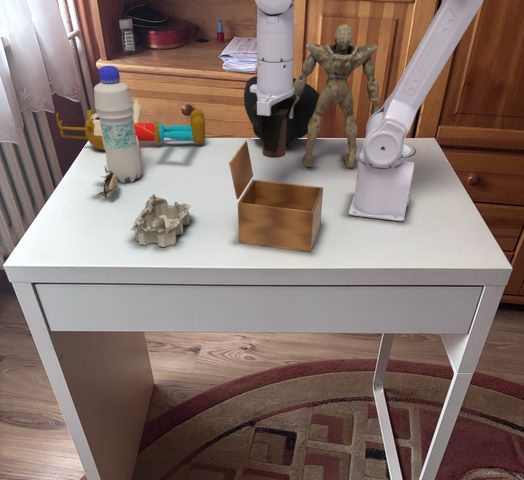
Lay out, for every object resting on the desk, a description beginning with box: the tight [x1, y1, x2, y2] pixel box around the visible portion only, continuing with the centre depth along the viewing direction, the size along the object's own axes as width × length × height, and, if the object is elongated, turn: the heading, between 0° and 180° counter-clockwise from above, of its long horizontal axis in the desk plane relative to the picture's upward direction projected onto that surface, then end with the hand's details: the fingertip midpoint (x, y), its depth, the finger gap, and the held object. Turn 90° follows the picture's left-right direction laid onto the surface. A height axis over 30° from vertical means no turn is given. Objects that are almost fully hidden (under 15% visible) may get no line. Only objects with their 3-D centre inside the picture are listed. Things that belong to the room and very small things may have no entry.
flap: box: [228, 140, 254, 200], centre depth 85 cm, size 6×9×1 cm
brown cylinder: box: [261, 116, 287, 159], centre depth 93 cm, size 4×4×6 cm
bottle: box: [93, 65, 142, 184], centre depth 100 cm, size 7×7×20 cm
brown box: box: [237, 179, 324, 253], centre depth 88 cm, size 12×9×7 cm
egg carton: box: [130, 193, 191, 248], centre depth 90 cm, size 11×8×4 cm
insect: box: [96, 164, 118, 198], centre depth 100 cm, size 6×9×3 cm
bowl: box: [243, 75, 320, 147], centre depth 115 cm, size 17×17×10 cm
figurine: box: [289, 23, 381, 169], centre depth 104 cm, size 18×8×25 cm, turn 91°
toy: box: [55, 99, 206, 153], centre depth 116 cm, size 25×8×30 cm
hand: (274, 145), depth 94 cm, fingers closed on brown cylinder, 4 cm apart
